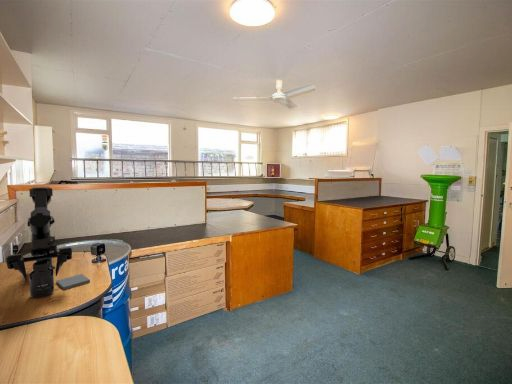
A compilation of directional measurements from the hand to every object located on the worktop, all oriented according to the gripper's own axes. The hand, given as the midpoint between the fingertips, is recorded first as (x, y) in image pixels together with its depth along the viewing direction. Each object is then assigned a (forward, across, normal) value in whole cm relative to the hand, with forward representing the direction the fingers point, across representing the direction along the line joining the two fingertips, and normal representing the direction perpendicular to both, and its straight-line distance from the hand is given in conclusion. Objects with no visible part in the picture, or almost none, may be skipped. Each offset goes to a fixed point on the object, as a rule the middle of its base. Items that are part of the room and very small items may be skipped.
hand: (41, 278), depth 93 cm
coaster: (0, +10, +9) cm, 13 cm away
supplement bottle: (+4, 0, +6) cm, 7 cm away
